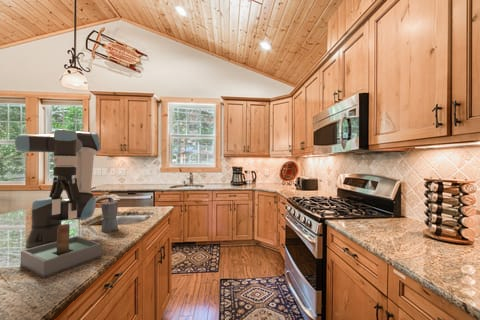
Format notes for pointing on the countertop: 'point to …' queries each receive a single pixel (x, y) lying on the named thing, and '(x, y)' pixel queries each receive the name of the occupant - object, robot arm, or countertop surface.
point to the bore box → (49, 263)
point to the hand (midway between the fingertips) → (64, 216)
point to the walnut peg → (63, 239)
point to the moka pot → (109, 215)
